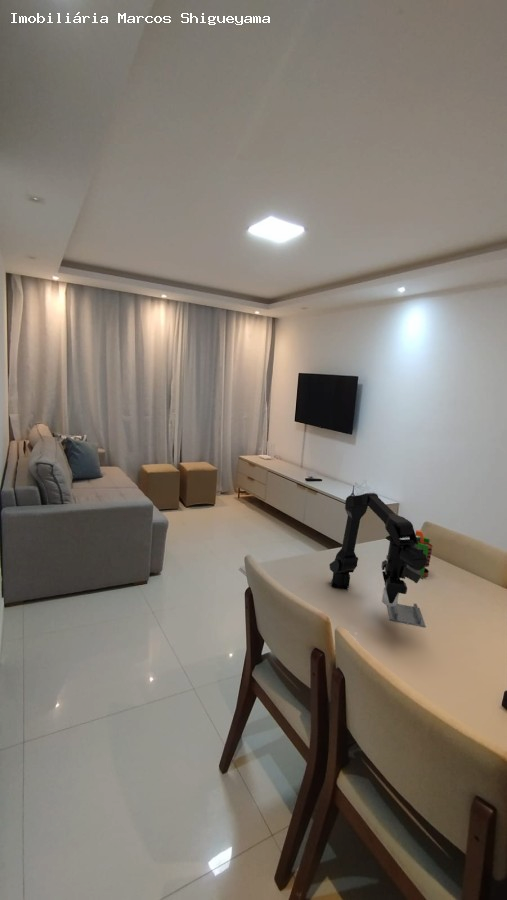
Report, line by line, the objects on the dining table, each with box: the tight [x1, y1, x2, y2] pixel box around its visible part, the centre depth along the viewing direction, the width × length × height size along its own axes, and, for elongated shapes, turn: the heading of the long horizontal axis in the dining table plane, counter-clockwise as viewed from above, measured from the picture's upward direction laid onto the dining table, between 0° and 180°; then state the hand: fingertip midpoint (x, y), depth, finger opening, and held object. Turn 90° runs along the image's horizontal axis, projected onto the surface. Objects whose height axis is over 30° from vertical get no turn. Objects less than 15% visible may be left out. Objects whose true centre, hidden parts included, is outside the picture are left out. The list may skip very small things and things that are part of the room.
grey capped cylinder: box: [381, 586, 400, 607], centre depth 139 cm, size 5×5×6 cm
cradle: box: [386, 603, 426, 628], centre depth 150 cm, size 12×12×2 cm
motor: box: [415, 529, 434, 580], centre depth 184 cm, size 10×9×20 cm
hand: (390, 599), depth 140 cm, fingers closed on grey capped cylinder, 5 cm apart
